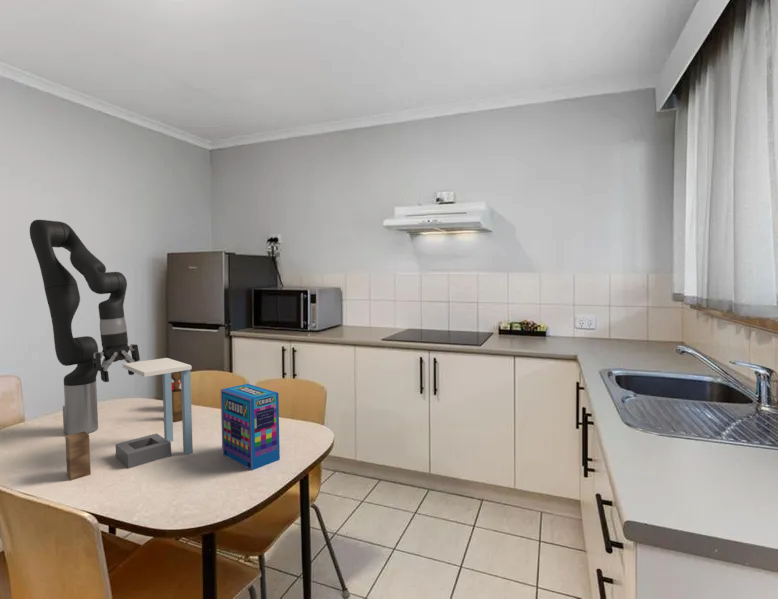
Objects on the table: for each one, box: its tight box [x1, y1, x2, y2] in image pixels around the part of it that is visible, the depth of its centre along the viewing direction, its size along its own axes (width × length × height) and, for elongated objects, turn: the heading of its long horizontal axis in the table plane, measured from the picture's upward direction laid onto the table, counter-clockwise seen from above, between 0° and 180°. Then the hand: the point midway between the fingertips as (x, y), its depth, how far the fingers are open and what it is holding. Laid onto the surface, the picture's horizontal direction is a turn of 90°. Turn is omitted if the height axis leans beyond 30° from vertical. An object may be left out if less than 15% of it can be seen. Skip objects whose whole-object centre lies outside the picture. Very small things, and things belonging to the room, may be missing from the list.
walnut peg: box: [64, 431, 91, 481], centre depth 116 cm, size 4×4×11 cm
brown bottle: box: [171, 371, 182, 423], centre depth 162 cm, size 7×6×18 cm
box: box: [220, 383, 281, 471], centre depth 127 cm, size 17×9×20 cm, turn 49°
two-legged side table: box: [122, 357, 194, 455], centre depth 131 cm, size 13×19×27 cm
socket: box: [115, 433, 172, 469], centre depth 128 cm, size 12×12×4 cm
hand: (119, 378), depth 145 cm, fingers open, 8 cm apart
